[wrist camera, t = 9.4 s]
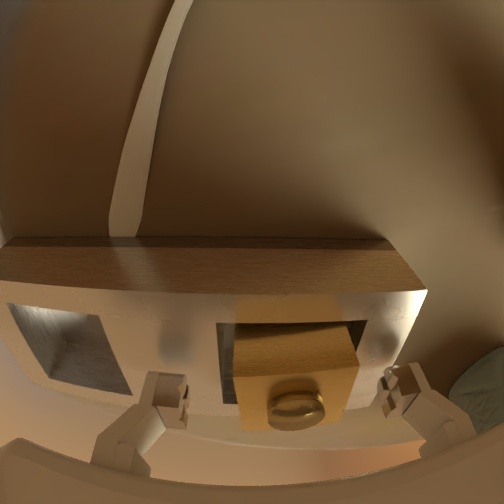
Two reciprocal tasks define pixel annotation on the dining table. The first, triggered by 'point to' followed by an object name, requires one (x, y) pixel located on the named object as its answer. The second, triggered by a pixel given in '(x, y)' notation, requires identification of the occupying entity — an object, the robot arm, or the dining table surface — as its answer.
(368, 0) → the dining table surface
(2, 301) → the tan windowed box
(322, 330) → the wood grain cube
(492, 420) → the green cup
